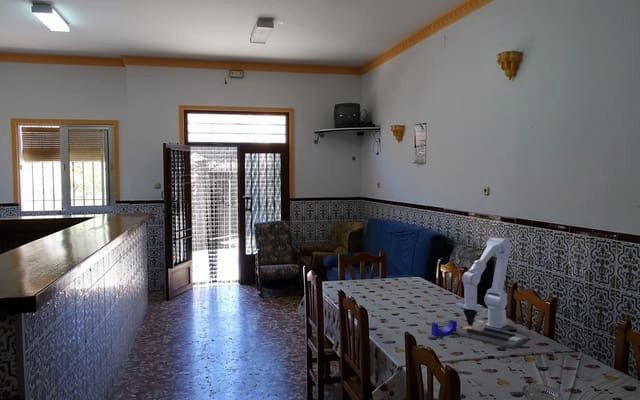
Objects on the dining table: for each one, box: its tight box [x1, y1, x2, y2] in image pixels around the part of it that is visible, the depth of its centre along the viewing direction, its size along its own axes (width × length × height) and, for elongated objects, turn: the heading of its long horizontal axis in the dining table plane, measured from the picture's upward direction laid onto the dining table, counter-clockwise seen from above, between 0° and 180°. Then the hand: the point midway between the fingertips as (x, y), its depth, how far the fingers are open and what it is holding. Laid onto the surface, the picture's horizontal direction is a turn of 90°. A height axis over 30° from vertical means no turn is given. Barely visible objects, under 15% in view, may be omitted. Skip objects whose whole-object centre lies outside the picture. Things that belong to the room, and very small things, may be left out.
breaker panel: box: [454, 324, 529, 349], centre depth 233 cm, size 16×28×2 cm, turn 46°
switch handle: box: [473, 320, 485, 331], centre depth 237 cm, size 5×3×4 cm, turn 136°
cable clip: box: [431, 319, 458, 337], centre depth 238 cm, size 12×4×6 cm, turn 111°
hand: (470, 324), depth 240 cm, fingers closed
